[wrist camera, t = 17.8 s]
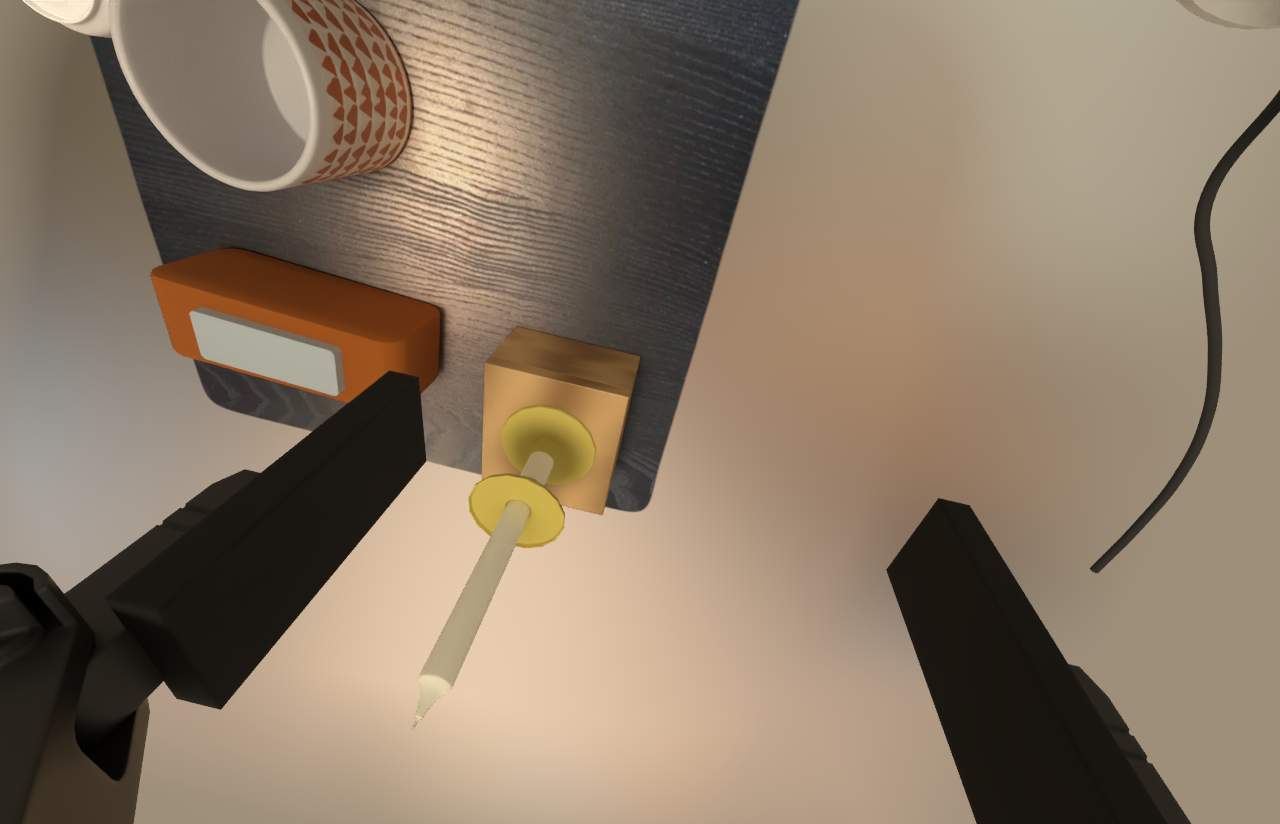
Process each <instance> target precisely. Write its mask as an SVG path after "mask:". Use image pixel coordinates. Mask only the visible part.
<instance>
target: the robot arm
mask: <svg viewBox="0 0 1280 824" xmlns="http://www.w3.org/2000/svg"><path fill="white" fill-rule="evenodd" d="M1279 112H1280V90H1279V92H1278V93H1277V94H1276V96H1275V97H1274V98H1273V100H1272V101H1271V102H1270V103H1269V104H1268V106H1267V107H1266V108H1265V109H1264V110H1263V111H1262V113H1261V114H1260V115H1259V116H1258V117H1257V119H1255V121H1254V122H1253V123H1252V124H1251V125H1250V126H1249V127H1248V128H1247V129H1246V130H1245V132H1244V133H1243V134H1242V135H1241V136H1240V137H1239V138H1238V140H1237V141H1236V142H1235V143H1234V144H1233V145H1232V146H1231V148H1230V149H1229V150H1228V151H1227V152H1226V154H1225V155H1224V156H1223V158H1222V159H1221V160H1220V162H1219V163H1218V164H1217V166H1216V167H1215V169H1214V170H1213V172H1212V174H1211V175H1210V177H1209V179H1208V181H1207V182H1206V185H1205V187H1204V189H1203V192H1202V193H1201V196H1200V200H1199V202H1198V205H1197V209H1196V214H1195V221H1194V234H1195V243H1196V248H1197V252H1198V256H1199V261H1200V266H1201V272H1202V283H1203V297H1204V307H1205V315H1206V323H1207V335H1208V371H1207V373H1208V374H1207V389H1206V396H1205V402H1204V407H1203V411H1202V414H1201V418H1200V421H1199V424H1198V427H1197V430H1196V433H1195V435H1194V438H1193V440H1192V443H1191V445H1190V447H1189V449H1188V451H1187V453H1186V455H1185V456H1184V458H1183V460H1182V462H1181V463H1180V465H1179V467H1178V468H1177V470H1176V471H1175V473H1174V475H1173V476H1172V478H1171V479H1170V481H1169V482H1168V483H1167V485H1166V486H1165V488H1164V489H1163V490H1162V492H1161V493H1160V494H1159V495H1158V497H1157V498H1156V499H1155V500H1154V501H1153V503H1152V504H1151V505H1150V506H1149V507H1148V508H1147V509H1146V510H1145V512H1144V513H1143V514H1142V515H1141V516H1140V517H1139V518H1138V519H1137V520H1136V521H1135V523H1134V524H1133V525H1132V526H1131V527H1130V528H1129V529H1128V530H1127V531H1126V532H1125V533H1124V535H1123V536H1122V537H1121V538H1120V539H1119V540H1118V541H1117V542H1116V543H1115V544H1114V545H1113V546H1112V547H1111V548H1110V549H1109V550H1108V551H1107V552H1106V553H1105V554H1104V555H1103V556H1102V557H1101V558H1100V559H1099V560H1098V561H1097V562H1096V563H1095V564H1094V565H1093V566H1092V567H1091V568H1090V569H1091V571H1093V572H1095V573H1099V572H1100V570H1102V569H1103V568H1104V567H1105V566H1106V565H1107V564H1108V563H1109V562H1110V561H1111V560H1112V559H1113V558H1114V557H1115V556H1116V555H1117V554H1118V553H1119V552H1120V551H1121V550H1122V549H1123V548H1124V547H1125V546H1126V545H1127V544H1128V543H1129V542H1130V541H1131V540H1132V539H1133V538H1134V537H1135V536H1136V535H1137V534H1138V533H1139V532H1140V531H1141V530H1142V529H1143V528H1144V527H1145V525H1146V524H1147V523H1148V522H1149V521H1150V520H1151V519H1152V518H1153V516H1155V514H1156V513H1157V512H1158V511H1159V510H1160V509H1161V508H1162V507H1163V506H1164V505H1165V503H1166V502H1167V501H1168V500H1169V499H1170V497H1171V496H1172V495H1173V494H1174V492H1175V491H1176V490H1177V488H1178V487H1179V485H1180V484H1181V483H1182V481H1183V480H1184V478H1185V476H1186V475H1187V473H1188V472H1189V470H1190V469H1191V467H1192V466H1193V464H1194V462H1195V460H1196V459H1197V457H1198V455H1199V453H1200V451H1201V449H1202V447H1203V445H1204V443H1205V440H1206V438H1207V435H1208V433H1209V430H1210V427H1211V424H1212V421H1213V418H1214V414H1215V411H1216V407H1217V403H1218V398H1219V392H1220V383H1221V365H1222V327H1221V316H1220V306H1219V295H1218V278H1217V267H1216V261H1215V255H1214V250H1213V246H1212V241H1211V234H1210V216H1211V210H1212V206H1213V202H1214V200H1215V197H1216V194H1217V192H1218V189H1219V187H1220V185H1221V183H1222V181H1223V180H1224V178H1225V176H1226V174H1227V173H1228V171H1229V170H1230V168H1231V167H1232V166H1233V164H1234V163H1235V162H1236V160H1237V159H1238V158H1239V156H1240V155H1241V154H1242V153H1243V151H1244V150H1245V149H1246V148H1247V147H1248V146H1249V145H1250V143H1252V141H1253V140H1254V139H1255V138H1256V137H1257V136H1258V135H1259V134H1260V133H1261V132H1262V130H1263V129H1264V128H1265V127H1266V126H1267V125H1268V124H1269V123H1270V122H1271V121H1272V119H1273V118H1274V117H1275V116H1276V115H1277V114H1278V113H1279ZM425 462H426V452H425V441H424V429H423V418H422V407H421V395H420V384H419V377H416V376H412V375H407V374H403V373H399V372H395V371H390V370H389V371H388V372H386V373H385V374H384V375H383V376H381V377H380V378H379V379H378V380H376V381H375V382H374V383H373V384H371V385H370V386H369V387H368V388H366V389H365V390H364V391H363V392H361V393H360V394H359V395H358V396H356V397H355V398H354V399H353V400H351V401H350V402H349V403H348V404H346V405H345V406H344V407H343V408H341V409H340V410H339V411H338V412H336V413H335V414H334V415H333V416H331V417H330V418H329V419H328V420H326V421H325V422H324V423H323V424H321V425H320V426H319V427H318V428H316V429H315V430H314V431H313V432H311V433H310V434H309V435H308V436H306V437H305V438H304V439H303V440H301V441H300V442H299V443H298V444H297V445H295V446H294V447H293V448H292V449H290V450H289V451H288V452H286V453H285V454H284V455H283V456H282V457H280V458H279V459H278V460H276V461H275V462H274V463H273V464H272V465H270V466H269V467H268V468H266V469H265V470H264V471H263V472H262V473H258V472H254V471H249V470H242V471H240V472H238V473H236V474H234V475H231V476H229V477H227V478H225V479H222V480H220V481H218V482H216V483H213V484H212V485H210V486H209V487H208V488H206V489H205V490H204V491H202V492H201V493H200V494H198V495H197V496H196V497H194V498H193V499H192V500H190V501H189V502H187V503H186V506H185V507H184V508H183V509H182V508H179V509H178V510H177V511H175V512H174V513H173V514H172V515H170V516H169V517H167V518H166V519H165V520H164V521H163V524H162V525H160V526H159V525H157V526H155V527H154V528H153V529H151V530H150V531H149V532H147V533H146V534H145V535H143V536H142V537H141V538H139V539H138V540H137V541H135V542H134V543H132V544H131V545H130V546H129V547H127V548H126V549H124V550H123V551H122V552H120V553H119V554H118V555H116V556H115V557H114V558H112V559H111V560H110V561H108V562H107V563H106V564H104V565H103V566H102V567H100V568H99V569H98V570H96V571H95V572H94V573H92V574H91V575H89V576H88V577H87V578H85V579H84V580H83V581H81V582H80V583H79V584H77V585H76V586H75V587H73V588H72V589H71V590H69V591H68V592H66V593H65V594H64V593H63V592H62V591H61V590H60V588H59V587H58V586H57V585H56V583H55V582H54V581H53V580H52V578H51V577H50V576H49V575H48V574H47V573H46V572H45V571H44V570H42V569H41V568H39V567H38V566H37V565H30V564H22V563H10V564H2V565H0V824H133V823H134V816H135V809H136V802H137V795H138V788H139V781H140V774H141V768H142V761H143V755H144V748H145V741H146V734H147V727H148V720H149V713H150V710H149V703H148V699H147V697H148V696H149V695H150V694H151V693H152V692H153V691H154V690H155V689H156V688H157V687H158V686H159V685H160V684H161V683H162V682H163V681H164V682H165V683H166V685H167V686H168V688H169V689H170V690H171V691H172V693H173V694H174V696H175V697H176V698H177V699H180V700H184V701H188V702H192V703H196V704H200V705H204V706H208V707H212V708H217V709H222V708H223V706H224V705H225V704H226V703H227V702H228V700H229V699H230V698H231V697H232V696H233V694H234V693H235V692H236V690H237V689H238V688H239V687H240V686H241V685H242V683H243V682H244V681H245V680H246V679H247V677H248V676H249V675H250V674H251V673H252V671H253V670H254V669H255V668H256V666H257V665H258V664H259V663H260V662H261V661H262V659H263V658H264V657H265V656H266V654H267V653H268V652H269V651H270V650H271V648H272V647H273V646H274V645H275V644H276V642H277V641H278V640H279V639H280V637H281V636H282V635H283V634H284V633H285V631H286V630H287V629H288V628H289V627H290V625H291V624H292V623H293V622H294V621H295V619H296V618H297V617H298V616H299V614H300V613H301V612H302V611H303V610H304V608H305V607H306V606H307V605H308V604H309V602H310V601H311V600H312V599H313V598H314V596H315V595H316V594H317V593H318V592H319V590H320V589H321V588H322V587H323V586H324V584H325V583H326V582H327V581H328V579H329V578H330V577H331V576H332V575H333V573H334V572H335V571H336V570H337V569H338V567H339V566H340V565H341V564H342V562H343V561H344V560H345V559H346V558H347V556H348V555H349V554H350V553H351V552H352V550H353V549H354V548H355V547H356V545H357V544H358V543H359V542H360V540H362V538H363V537H364V536H365V535H366V534H367V532H368V531H369V530H370V529H371V527H372V526H373V525H374V524H375V523H376V521H377V520H378V519H379V518H380V516H381V515H382V514H383V513H384V512H385V511H386V509H387V508H388V507H389V506H390V504H391V503H392V502H393V501H394V500H395V498H396V497H397V496H398V495H399V494H400V492H401V491H402V490H403V489H404V487H405V486H406V485H407V484H408V483H409V481H410V480H411V479H412V478H413V476H414V475H415V474H416V473H417V472H418V471H419V469H420V468H421V467H422V466H423V465H424V463H425ZM887 573H888V576H889V579H890V582H891V584H892V587H893V590H894V593H895V596H896V598H897V601H898V604H899V607H900V609H901V612H902V615H903V618H904V621H905V624H906V626H907V629H908V632H909V635H910V638H911V640H912V643H913V646H914V649H915V651H916V655H917V657H918V660H919V663H920V666H921V669H922V671H923V674H924V677H925V680H926V682H927V685H928V688H929V691H930V694H931V697H932V699H933V702H934V705H935V708H936V711H937V713H938V716H939V719H940V722H941V725H942V727H943V730H944V733H945V736H946V739H947V741H948V744H949V747H950V750H951V753H952V756H953V758H954V761H955V764H956V766H957V770H958V772H959V775H960V778H961V781H962V784H963V786H964V789H965V792H966V795H967V798H968V800H969V803H970V806H971V809H972V812H973V814H974V817H975V820H976V823H977V824H1191V823H1190V821H1189V820H1188V818H1187V817H1186V815H1185V814H1184V812H1183V810H1182V809H1181V807H1180V806H1179V804H1178V803H1177V801H1176V800H1175V798H1174V797H1173V795H1172V794H1171V792H1170V791H1169V789H1168V788H1167V786H1166V785H1165V783H1164V781H1163V780H1162V778H1161V777H1160V775H1159V774H1158V772H1157V771H1156V769H1155V768H1154V766H1153V765H1152V764H1150V763H1148V762H1147V760H1146V758H1147V755H1146V754H1145V752H1144V751H1143V750H1142V748H1141V747H1140V745H1139V743H1138V742H1137V741H1136V739H1135V737H1134V736H1131V735H1130V734H1129V728H1128V727H1127V725H1126V723H1125V722H1124V720H1123V719H1122V717H1121V716H1120V714H1119V713H1118V711H1117V710H1116V708H1115V707H1114V705H1113V704H1112V702H1111V700H1110V699H1109V698H1108V696H1107V695H1106V694H1105V693H1104V692H1103V691H1102V690H1101V689H1100V688H1099V687H1098V686H1097V685H1096V684H1095V683H1094V682H1093V680H1092V679H1091V678H1090V677H1089V676H1088V675H1087V674H1086V673H1085V672H1084V671H1083V670H1082V669H1081V668H1080V667H1078V666H1074V665H1070V664H1068V663H1067V662H1066V660H1065V659H1064V657H1063V655H1062V653H1061V652H1060V650H1059V649H1058V647H1057V645H1056V644H1055V642H1054V640H1053V639H1052V638H1051V636H1050V634H1049V632H1048V631H1047V629H1046V628H1045V626H1044V624H1043V623H1042V621H1041V620H1040V618H1039V616H1038V615H1037V613H1036V612H1035V610H1034V609H1033V607H1032V605H1031V604H1030V602H1029V600H1028V599H1027V597H1026V596H1025V594H1024V592H1023V591H1022V589H1021V587H1020V586H1019V584H1018V583H1017V581H1016V579H1015V578H1014V576H1013V575H1012V573H1011V572H1010V570H1009V568H1008V567H1007V565H1006V563H1005V562H1004V560H1003V558H1002V557H1001V555H1000V554H999V552H998V550H997V549H996V547H995V546H994V544H993V542H992V541H991V539H990V538H989V536H988V534H987V533H986V531H985V529H984V528H983V526H982V525H981V523H980V521H979V520H978V518H977V517H976V515H975V513H974V512H973V510H972V509H971V507H970V505H966V504H961V503H957V502H953V501H948V500H944V499H940V498H939V499H938V500H937V501H936V502H935V504H934V505H933V506H932V508H931V509H930V511H929V512H928V514H927V515H926V516H925V517H924V519H923V520H922V522H921V523H920V525H919V526H918V527H917V528H916V530H915V531H914V533H913V534H912V535H911V537H910V538H909V539H908V541H907V542H906V544H905V545H904V546H903V548H902V549H901V550H900V552H899V553H898V555H897V556H896V557H895V559H894V560H893V562H892V563H891V564H890V566H889V567H888V568H887Z"/></svg>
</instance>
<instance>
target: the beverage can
mask: <svg viewBox="0 0 1280 824" xmlns="http://www.w3.org/2000/svg"><path fill="white" fill-rule="evenodd" d="M23 1H24V2H25V3H26V4H27V5H29V6H30V7H31V8H32V9H34V10H35V11H37V12H39V13H40V14H41V15H43V16H45V17H47V18H49V19H52V20H54V21H57V22H59V23H61V24H63V25H64V26H67V27H68V28H70V29H72V30H75V31H77V32H80V33H83V34H87V35H92V36H100V37H108V38H112V35H111V29H110V22H109V0H23Z"/></svg>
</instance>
